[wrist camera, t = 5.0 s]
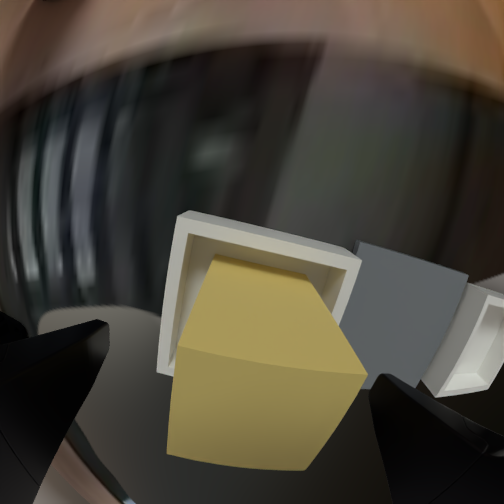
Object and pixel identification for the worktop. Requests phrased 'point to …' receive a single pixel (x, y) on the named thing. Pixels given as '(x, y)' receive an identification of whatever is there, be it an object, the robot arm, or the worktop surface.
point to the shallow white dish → (248, 249)
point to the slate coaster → (399, 312)
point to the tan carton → (259, 370)
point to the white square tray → (469, 345)
